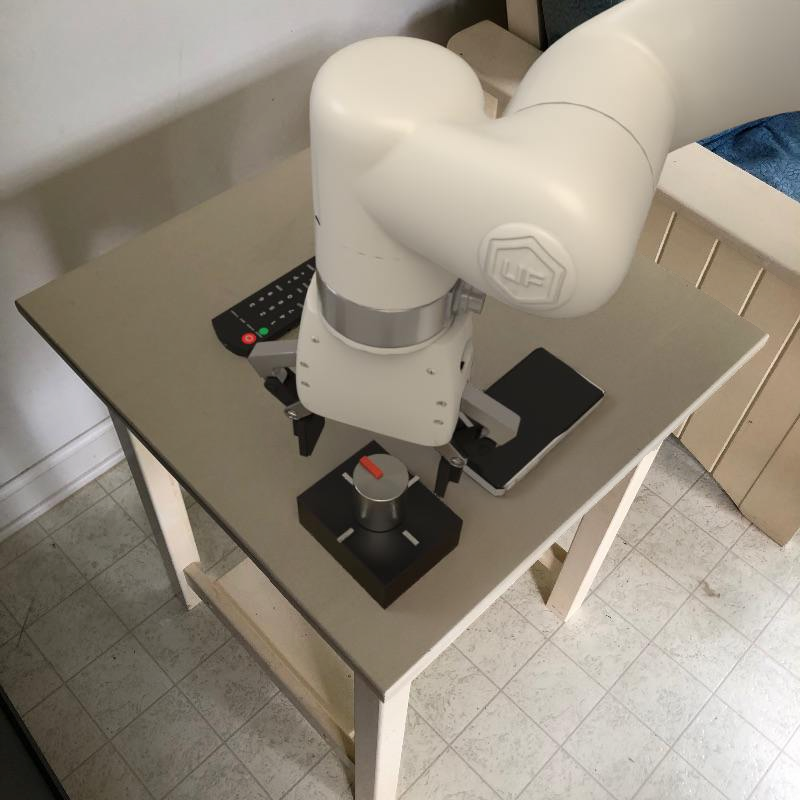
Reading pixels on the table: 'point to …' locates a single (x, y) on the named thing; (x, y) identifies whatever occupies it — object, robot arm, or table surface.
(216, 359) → the table surface
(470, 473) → the smartphone
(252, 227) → the table surface
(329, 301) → the robot arm
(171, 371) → the table surface
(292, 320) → the remote control
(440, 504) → the dimmer panel
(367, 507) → the dimmer knob
